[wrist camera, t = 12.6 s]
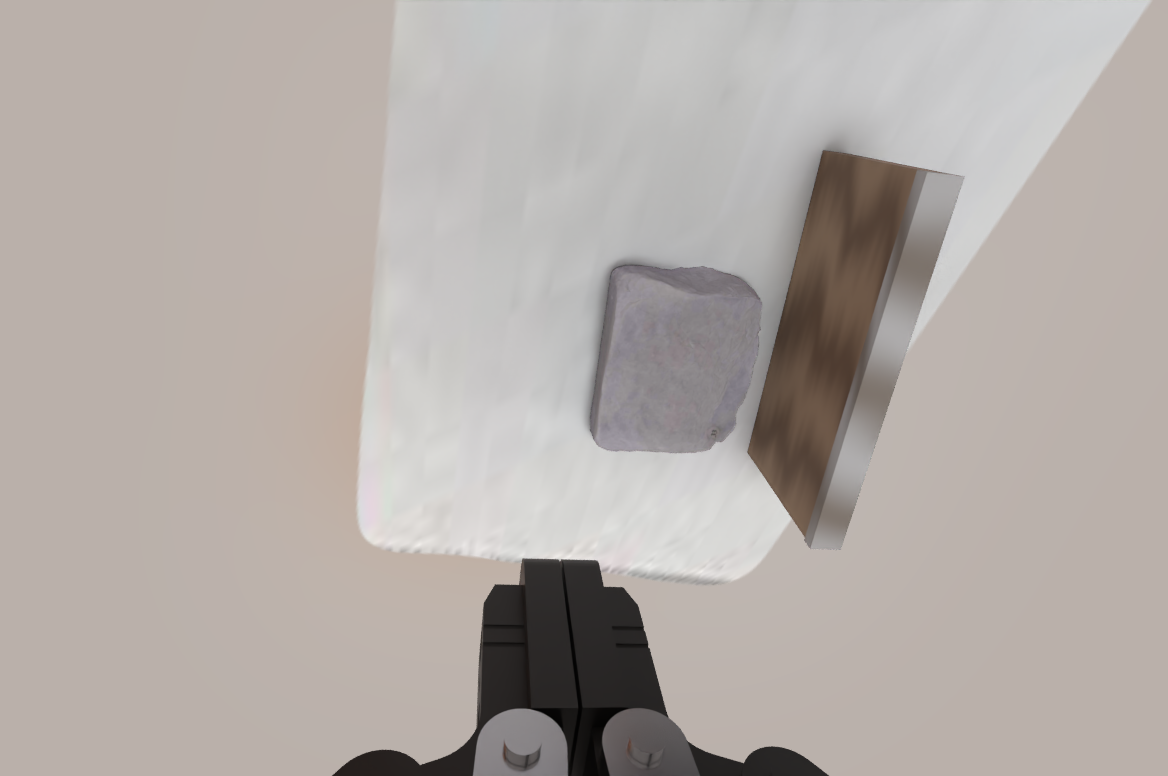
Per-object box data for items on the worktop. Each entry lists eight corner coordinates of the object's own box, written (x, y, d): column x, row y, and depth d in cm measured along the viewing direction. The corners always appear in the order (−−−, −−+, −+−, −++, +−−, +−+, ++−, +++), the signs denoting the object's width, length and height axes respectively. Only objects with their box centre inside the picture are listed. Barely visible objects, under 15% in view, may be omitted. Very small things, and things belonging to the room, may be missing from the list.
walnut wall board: (820, 150, 39) (927, 171, 30) (849, 153, 40) (964, 176, 30) (745, 452, 47) (810, 548, 37) (770, 453, 47) (840, 549, 38)
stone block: (743, 261, 44) (597, 257, 40) (785, 284, 40) (626, 282, 36) (708, 423, 49) (575, 431, 45) (742, 458, 45) (599, 470, 41)
